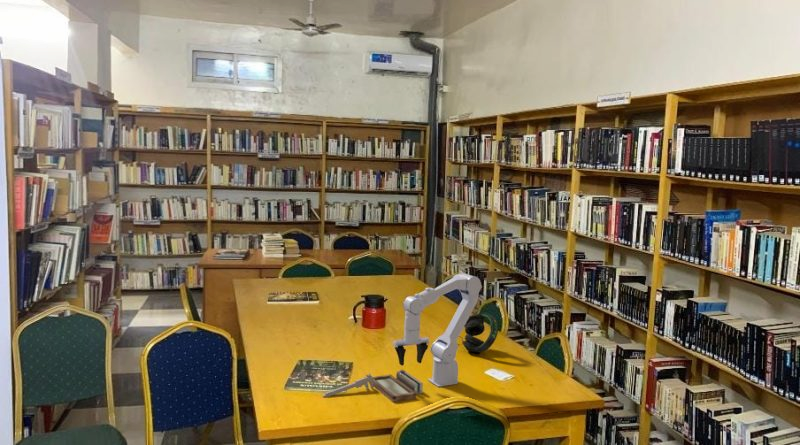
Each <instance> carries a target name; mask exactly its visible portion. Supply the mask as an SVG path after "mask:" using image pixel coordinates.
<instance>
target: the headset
mask: <svg viewBox="0 0 800 445" xmlns="http://www.w3.org/2000/svg"><path fill="white" fill-rule="evenodd" d="M487 318H488V320H489V321H490V331H489V335H488V337H487V338H486V340H482V339H479V338H477V337H476V336H481V335H482V334H483V333H484V332H485V330H486V329H485V321H484V319H487ZM464 332H465V333H466V334H465V335H464V339H463V337H462V336H461V335H459V337H458V338H461V342H462V343H461V345H463V347H465V349H466V350H467V351H469V352H471V353H483V352H485V351H487V350H489V349H490V348H491V347H492V346H493V345H494V343H495V341H496V339H497V336H498V334H499V333H498V332H499V322H498V320H497V318H496V317H495V316H494V315H492V314H489V313H488V312H478V313H477V314H472V315H471V314H470V316H469V318H468V320H467V322H466V324H465V326H464ZM443 334H444V333H443ZM443 334H441V335H443Z"/></svg>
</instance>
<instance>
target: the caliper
mask: <svg viewBox="0 0 800 445" xmlns="http://www.w3.org/2000/svg"><path fill="white" fill-rule="evenodd" d="M365 375H366V377H363V378H360V379H356V380H354V382H351V383H348V384H346V385H343V386H340V387H337V388H335V389H332V390H329V391H327V392H325V393H324V394H323V395H321V397H322V398H326V397H327V398H328V397H332V396H335V395H337V394H338V395H339V394H340V393H343V392H346V391H348V390H350V389H353V388H356V389H359V388H361V387H363V386H364V387H365V389H366V390H367V391H368V390H369V388H370V389H373V388H374V386H373V377H374V376H373V375H371V373H370V372H369V373H368V374H367V373H366V374H365ZM369 382H370V383H369Z"/></svg>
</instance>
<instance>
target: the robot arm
mask: <svg viewBox="0 0 800 445" xmlns="http://www.w3.org/2000/svg"><path fill="white" fill-rule="evenodd" d="M482 288H483V286H482V282H481V280H480V278H479V277H477V276H474V275H470V274H468V273H465V272H459V273H458V274H454V275H453V277H452V278H450V279H448V280H447V281H445V282H443V283H442V284H440V285H438V286H437V287H435V288H433V287H426V288H425V289H424V290H423V291H421V292H419V293H415V294H414V295H409V296H407V297H406V298H405V299H404V301H403V303H402V308H403V309H404V329H403V330H404V332H403V333H404V335H403V338H401V339H398V340H393V343H392V347H394V349H395V352H396V354H397V358H398V362H399V365H400V366H401V367H402V366H404V365H405V354H406V352H407V349H406V348H405V347H406V346H416V362H417V363H418V364H421V363H422V361H423V358H424V356H425V353H426V351H427V350H428V348H429V345H428V344H430V338H429V337H427V336H426V337H420V332H421V331H420V330H421V329H420V327H421V313H422V312H423V311H424V309H426V307H429V306H430V305H432V304H435V303H437V301H438V300H439V297H441V296H443V295H446V294H447V293H450V292H452V291H455V290H458V291H459V292H460V294H461V297H462V300H461V301H460V303H459V305H458V307H457V309H456V311H455V313H454V315H453V316H452V319H451V320H450V322H449V323H448V326H447V328H446V329H445V332H444V333H443V335H442V334H441V335H439V336H438V337H437V338H436V340H434V342H432V344H431V346H430V352H431V354H432V358H433V362H432V365H433V366H432V377H431V378H428V381H429V382H430V383H432V384H433V385H435V386H437V387H438V388H440V387H446V386H451V385H452V386H453V385H458V384H459V381H458V378H459V365H458V362H457V360H456V357H457V356H456V355H457V352H458V349H459V345H458V342H457V341H458V338H460V337H459V336H461V333H462V331H463V329H465V327H464V326H465V324H466V322H467V320H468V318H469V316H471V314H472V312H473V311H474V309H475V306H476V305H477V303H478V301H479V295H480V294H479V293H480V291H481V289H482Z"/></svg>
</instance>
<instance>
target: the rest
mask: <svg viewBox="0 0 800 445" xmlns="http://www.w3.org/2000/svg"><path fill="white" fill-rule="evenodd" d="M372 377H373V388H375V389H376V390H377V391H379V393H381V394H382V395H383V396H384V397H386V398H387V399H388V400H390V401H391V402H392V403H396V402H402V401H408V400H413V399H414V400H415V399H417V395H416V393H415V392H414V391H413V390H411V389H410V388H409V387H407V386H406V385H404V384H403V383H402V382H400V381H399V380H398V379H396V377H395V376H393V375H392V374H385V375H384V374H383V375H377V376H372ZM368 384H370V382H368Z"/></svg>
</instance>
